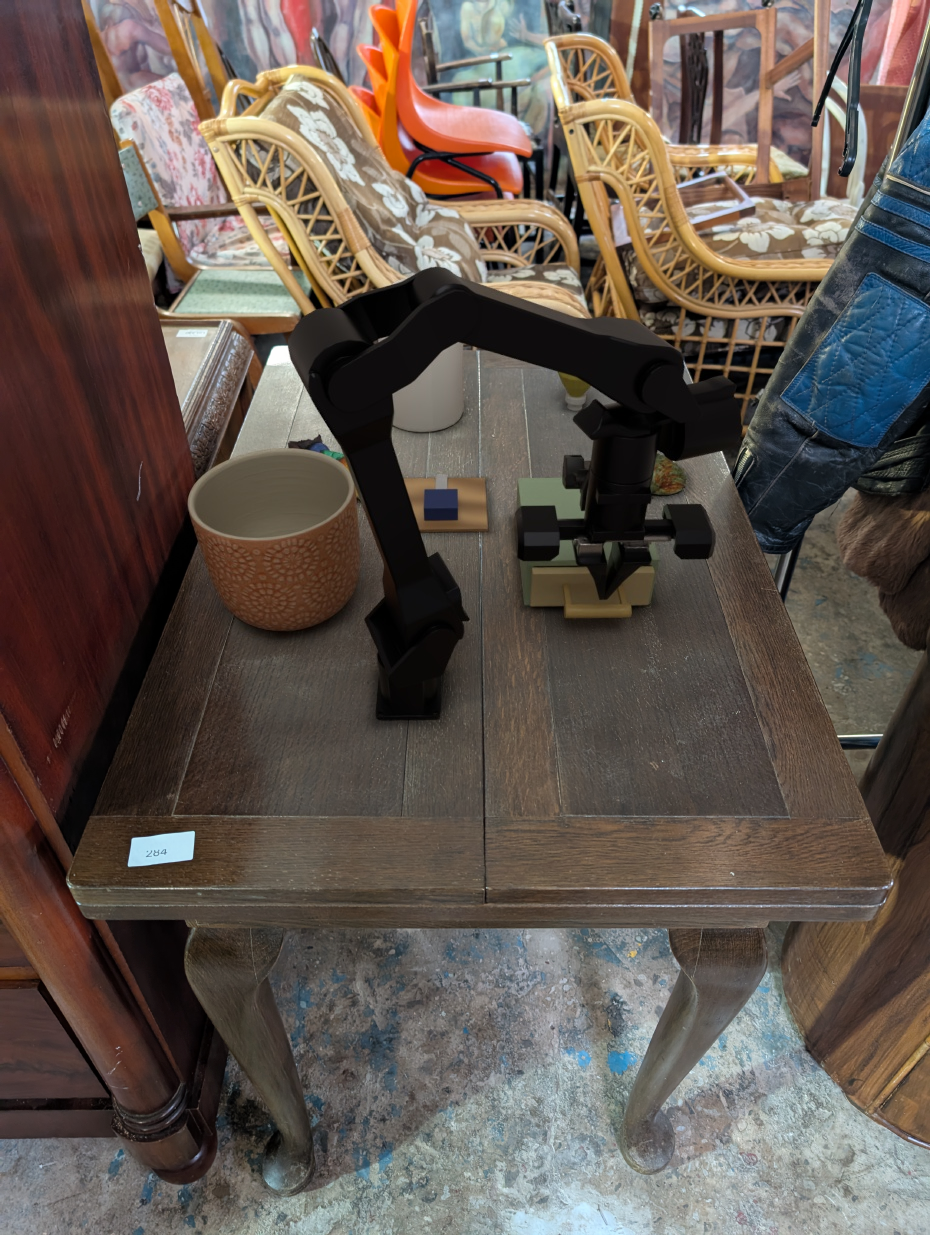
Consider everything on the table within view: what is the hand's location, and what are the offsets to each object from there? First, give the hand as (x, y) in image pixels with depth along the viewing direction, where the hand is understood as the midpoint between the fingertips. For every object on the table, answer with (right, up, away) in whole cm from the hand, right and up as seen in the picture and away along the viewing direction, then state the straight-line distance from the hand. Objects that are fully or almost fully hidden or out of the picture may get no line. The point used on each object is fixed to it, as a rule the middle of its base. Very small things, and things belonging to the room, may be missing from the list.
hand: (602, 597), depth 83 cm
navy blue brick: (-18, +13, +24) cm, 32 cm away
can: (-21, +30, +42) cm, 56 cm away
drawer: (0, +3, +11) cm, 12 cm away
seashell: (+11, +17, +29) cm, 35 cm away
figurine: (-33, +16, +28) cm, 45 cm away
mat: (-17, +13, +24) cm, 32 cm away
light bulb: (+3, +31, +44) cm, 54 cm away
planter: (-34, 0, +10) cm, 36 cm away
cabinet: (0, +5, +15) cm, 16 cm away
